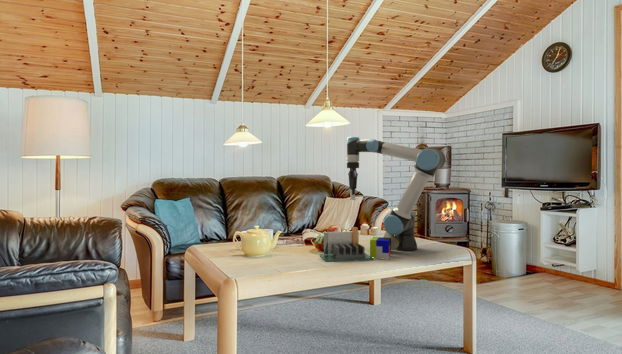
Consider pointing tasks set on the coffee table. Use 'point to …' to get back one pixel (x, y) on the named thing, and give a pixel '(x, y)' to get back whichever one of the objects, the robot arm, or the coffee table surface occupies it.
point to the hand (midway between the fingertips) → (352, 199)
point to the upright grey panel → (337, 240)
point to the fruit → (392, 240)
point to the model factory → (348, 251)
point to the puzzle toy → (380, 247)
